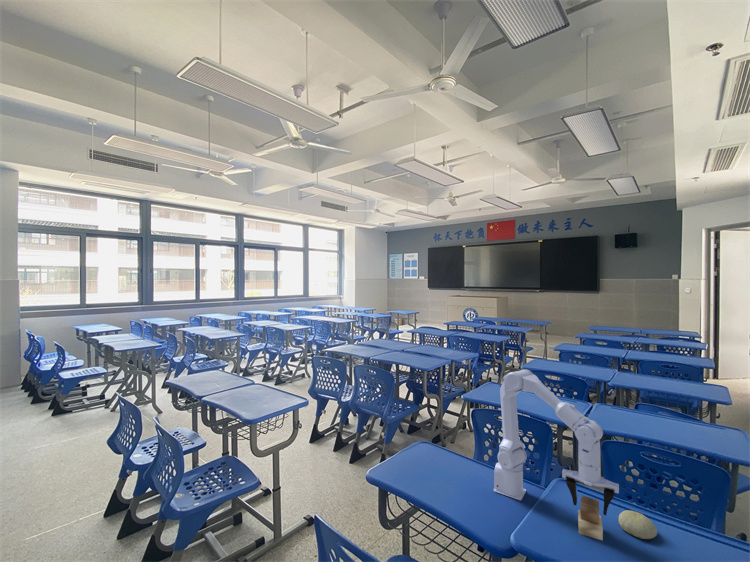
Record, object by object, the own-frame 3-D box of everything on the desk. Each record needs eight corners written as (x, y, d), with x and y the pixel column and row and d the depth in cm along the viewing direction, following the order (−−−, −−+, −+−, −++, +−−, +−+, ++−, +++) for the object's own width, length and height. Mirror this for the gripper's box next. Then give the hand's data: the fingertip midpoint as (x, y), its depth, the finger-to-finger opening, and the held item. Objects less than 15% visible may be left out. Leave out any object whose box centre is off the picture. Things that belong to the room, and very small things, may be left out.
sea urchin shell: (644, 539, 98) (624, 507, 103) (625, 546, 103) (607, 515, 109) (667, 534, 100) (647, 503, 106) (648, 541, 105) (629, 510, 111)
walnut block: (580, 519, 104) (580, 502, 104) (582, 511, 107) (581, 495, 108) (598, 524, 101) (598, 507, 101) (599, 517, 105) (598, 500, 105)
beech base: (578, 534, 103) (578, 520, 103) (578, 522, 108) (578, 509, 108) (602, 541, 100) (602, 527, 100) (600, 529, 105) (600, 515, 105)
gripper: (560, 460, 106) (560, 505, 105) (618, 475, 97) (618, 525, 97) (563, 452, 112) (564, 495, 111) (618, 466, 103) (619, 512, 102)
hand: (589, 508), depth 104 cm, fingers open, 7 cm apart
